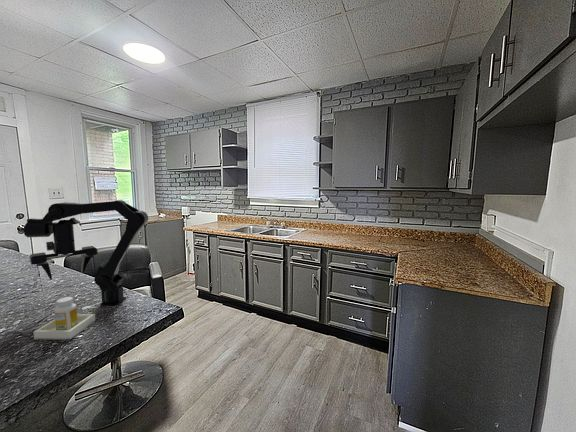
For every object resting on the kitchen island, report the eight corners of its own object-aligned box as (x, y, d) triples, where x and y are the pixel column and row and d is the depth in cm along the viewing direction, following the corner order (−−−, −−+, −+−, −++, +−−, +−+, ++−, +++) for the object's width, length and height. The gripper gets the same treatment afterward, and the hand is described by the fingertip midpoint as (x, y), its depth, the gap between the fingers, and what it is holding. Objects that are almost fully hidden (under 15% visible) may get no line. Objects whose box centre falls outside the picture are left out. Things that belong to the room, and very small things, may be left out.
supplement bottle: (75, 321, 86) (73, 294, 84) (79, 327, 82) (77, 299, 81) (54, 328, 81) (51, 299, 80) (57, 334, 78) (55, 305, 77)
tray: (95, 320, 87) (94, 314, 87) (70, 339, 77) (69, 331, 76) (64, 320, 87) (63, 314, 86) (34, 339, 76) (33, 331, 76)
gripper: (89, 230, 106) (92, 266, 108) (26, 236, 92) (30, 277, 94) (96, 234, 99) (99, 272, 101) (29, 241, 85) (33, 285, 87)
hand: (67, 276), depth 96 cm, fingers open, 9 cm apart
